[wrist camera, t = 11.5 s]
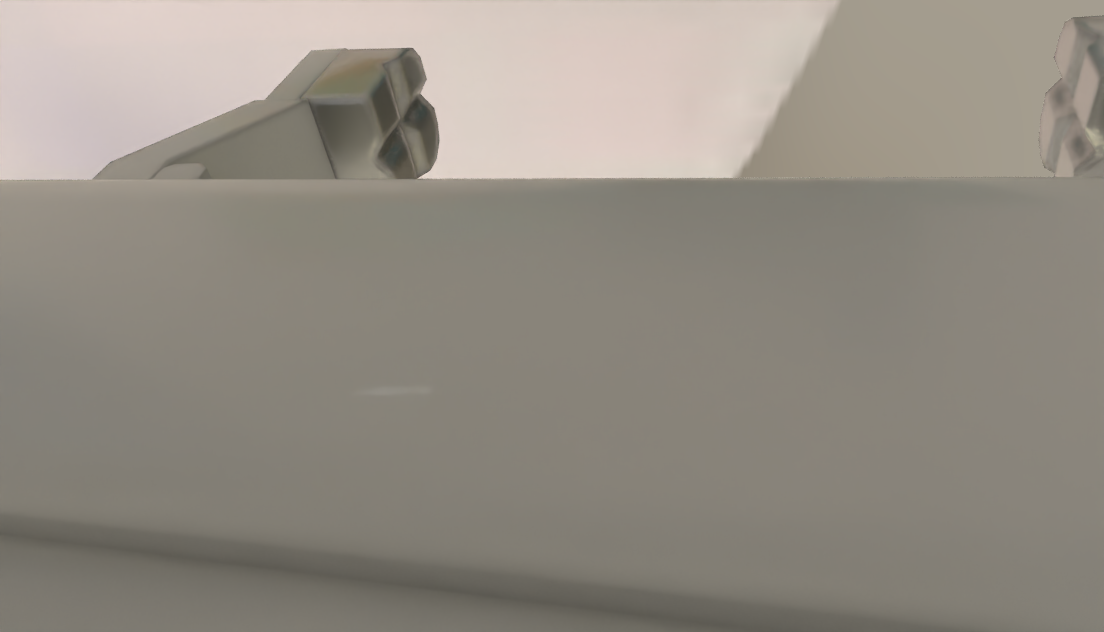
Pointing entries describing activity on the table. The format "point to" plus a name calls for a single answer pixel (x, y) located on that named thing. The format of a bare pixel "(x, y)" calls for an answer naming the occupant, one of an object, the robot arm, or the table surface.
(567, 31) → the table surface
